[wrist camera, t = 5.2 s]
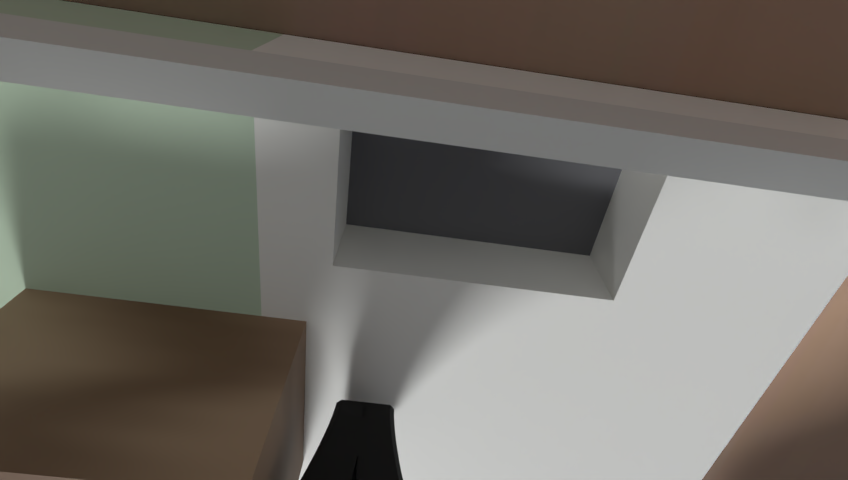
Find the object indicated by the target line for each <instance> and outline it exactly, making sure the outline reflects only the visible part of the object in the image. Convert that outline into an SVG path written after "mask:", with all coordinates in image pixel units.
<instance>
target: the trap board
mask: <svg viewBox="0 0 848 480" xmlns="http://www.w3.org/2000/svg"><path fill="white" fill-rule="evenodd" d="M847 276H848V120H844V119H837V118H831V117H824V116H818V115H811V114H804V113H798V112H791V111H785V110H778V109H772V108H765V107H758V106H752V105H745V104H739V103H732V102H726V101H719V100H712V99H706V98H699V97H693V96H686V95H680V94H673V93H666V92H660V91H653V90H647V89H640V88H634V87H627V86H620V85H614V84H607V83H601V82H594V81H588V80H581V79H574V78H568V77H561V76H555V75H548V74H542V73H535V72H528V71H522V70H515V69H509V68H502V67H496V66H489V65H483V64H476V63H469V62H463V61H456V60H450V59H443V58H437V57H430V56H423V55H417V54H410V53H404V52H397V51H391V50H384V49H377V48H371V47H364V46H358V45H351V44H345V43H338V42H331V41H325V40H318V39H312V38H305V37H299V36H292V35H285V34H279V33H272V32H266V31H259V30H253V29H246V28H239V27H233V26H226V25H220V24H213V23H207V22H200V21H193V20H187V19H180V18H174V17H167V16H161V15H154V14H147V13H141V12H134V11H128V10H121V9H115V8H108V7H101V6H95V5H88V4H82V3H75V2H69V1H62V0H0V309H1V308H2V307H3V306H4V305H6V304H7V303H8V302H9V301H10V300H12V299H13V298H14V297H15V296H17V295H18V294H19V293H20V292H22V291H23V290H24V289H25V288H27V289H35V290H44V291H52V292H61V293H69V294H78V295H87V296H95V297H104V298H112V299H121V300H129V301H138V302H146V303H155V304H163V305H172V306H180V307H189V308H197V309H206V310H214V311H223V312H231V313H240V314H248V315H257V316H265V317H274V318H283V319H291V320H300V321H307V322H306V365H305V408H304V451H303V464H302V468H301V472H300V476H299V480H301V478H302V476H303V474H304V472H305V471H306V469H307V467H308V465H309V463H310V462H311V460H312V458H313V456H314V454H315V452H316V450H317V448H318V446H319V444H320V442H321V440H322V438H323V436H324V434H325V432H326V429H327V427H328V425H329V422H330V420H331V418H332V415H333V412H334V409H335V406H336V403H337V402H339V401H340V400H350V401H359V402H369V403H378V404H387V405H391V406H392V407H393V408H394V425H395V436H396V444H397V450H398V457H399V463H400V468H401V473H402V478H403V480H702V479H703V477H704V476H705V475H706V473H707V472H708V470H709V469H710V468H711V466H712V465H713V463H714V462H715V461H716V459H717V458H718V456H719V455H720V454H721V452H722V451H723V449H724V448H725V446H726V445H727V444H728V442H729V441H730V439H731V438H732V437H733V435H734V434H735V432H736V431H737V430H738V428H739V427H740V425H741V424H742V423H743V421H744V420H745V418H746V417H747V416H748V414H749V413H750V411H751V410H752V409H753V407H754V406H755V404H756V403H757V402H758V400H759V399H760V397H761V396H762V395H763V393H764V392H765V390H766V389H767V388H768V386H769V385H770V383H771V382H772V381H773V379H774V378H775V376H776V375H777V374H778V372H779V371H780V369H781V368H782V367H783V365H784V364H785V362H786V361H787V360H788V358H789V357H790V355H791V354H792V353H793V351H794V350H795V348H796V347H797V346H798V344H799V343H800V341H801V340H802V339H803V337H804V336H805V334H806V333H807V332H808V330H809V329H810V327H811V326H812V325H813V323H814V322H815V320H816V319H817V318H818V316H819V315H820V313H821V312H822V311H823V309H824V308H825V306H826V305H827V304H828V302H829V301H830V299H831V298H832V297H833V295H834V294H835V292H836V291H837V290H838V288H839V287H840V285H841V284H842V283H843V281H844V280H845V278H846V277H847Z"/></svg>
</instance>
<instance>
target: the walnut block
mask: <svg viewBox="0 0 848 480" xmlns="http://www.w3.org/2000/svg"><path fill="white" fill-rule="evenodd" d="M306 322H307V321H300V320H291V319H283V318H274V317H265V316H257V315H248V314H240V313H231V312H223V311H214V310H206V309H197V308H189V307H180V306H172V305H163V304H155V303H146V302H138V301H129V300H121V299H112V298H104V297H95V296H87V295H78V294H69V293H61V292H52V291H44V290H35V289H27V288H25V289H24V290H23V291H22V292H20V293H19V294H18V295H17V296H15V297H14V298H13V299H12V300H10V301H9V302H8V303H7V304H6V305H4V306H3V307H2V308H1V309H0V480H299V476H300V472H301V468H302V464H303V451H304V408H305V365H306Z"/></svg>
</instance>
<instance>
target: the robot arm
mask: <svg viewBox="0 0 848 480" xmlns="http://www.w3.org/2000/svg"><path fill="white" fill-rule="evenodd" d="M301 480H403V478H402V473H401V468H400V463H399V457H398V450H397V444H396V436H395V425H394V408H393V407H392V406H391V405H387V404H378V403H369V402H359V401H350V400H340V401H339V402H337V403H336V406H335V409H334V412H333V415H332V418H331V420H330V422H329V425H328V427H327V429H326V432H325V434H324V436H323V438H322V440H321V442H320V444H319V446H318V448H317V450H316V452H315V454H314V456H313V458H312V460H311V462H310V463H309V465H308V467H307V469H306V471H305V472H304V474H303V476H302V478H301Z"/></svg>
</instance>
